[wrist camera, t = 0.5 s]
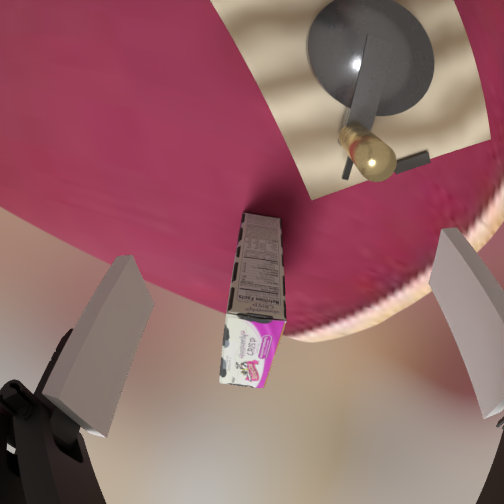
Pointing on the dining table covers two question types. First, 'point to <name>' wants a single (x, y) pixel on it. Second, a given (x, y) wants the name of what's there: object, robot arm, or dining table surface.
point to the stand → (332, 112)
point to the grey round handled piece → (369, 73)
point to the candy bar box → (254, 303)
